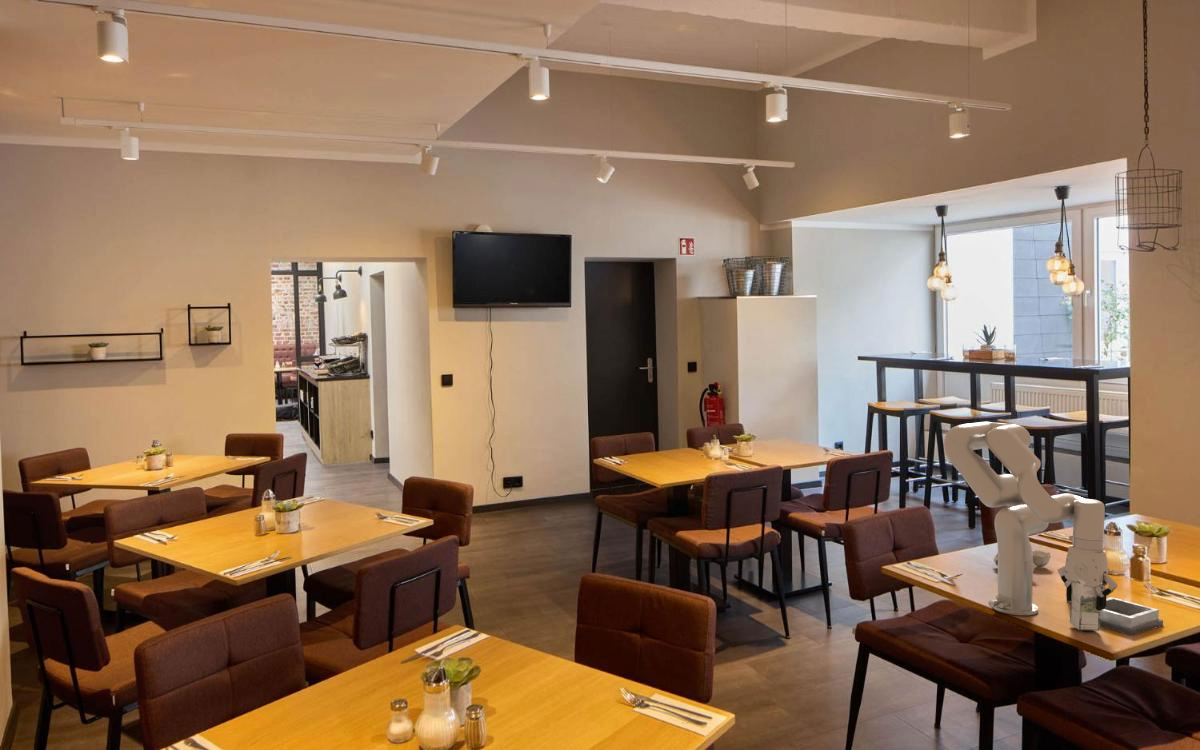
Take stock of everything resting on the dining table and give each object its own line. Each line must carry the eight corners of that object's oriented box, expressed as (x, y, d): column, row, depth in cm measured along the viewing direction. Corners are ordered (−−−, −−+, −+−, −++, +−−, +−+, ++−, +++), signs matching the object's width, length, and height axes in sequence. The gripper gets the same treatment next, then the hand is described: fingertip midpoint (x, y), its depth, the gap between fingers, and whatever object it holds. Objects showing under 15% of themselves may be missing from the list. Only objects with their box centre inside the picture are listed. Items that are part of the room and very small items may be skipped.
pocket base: (1132, 635, 236) (1132, 619, 235) (1079, 619, 249) (1079, 604, 248) (1162, 625, 243) (1163, 609, 242) (1110, 610, 256) (1110, 595, 256)
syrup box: (1090, 623, 243) (1092, 573, 242) (1100, 631, 237) (1102, 580, 236) (1069, 623, 244) (1071, 573, 243) (1078, 630, 238) (1080, 580, 237)
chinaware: (1035, 590, 282) (1041, 541, 280) (982, 576, 292) (987, 529, 290) (1052, 570, 304) (1058, 524, 302) (1002, 558, 314) (1007, 514, 312)
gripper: (1050, 538, 245) (1048, 598, 246) (1111, 553, 229) (1108, 617, 231) (1066, 534, 248) (1064, 593, 249) (1127, 549, 233) (1124, 612, 234)
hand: (1085, 604), depth 240 cm, fingers closed on syrup box, 7 cm apart
